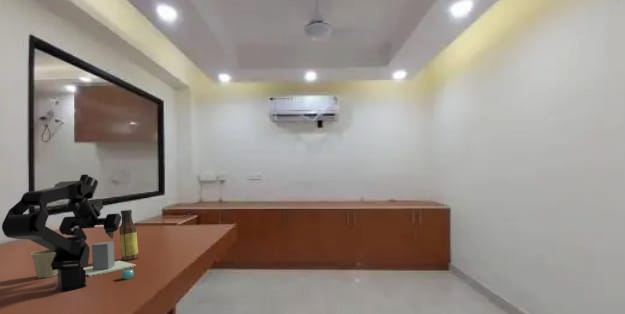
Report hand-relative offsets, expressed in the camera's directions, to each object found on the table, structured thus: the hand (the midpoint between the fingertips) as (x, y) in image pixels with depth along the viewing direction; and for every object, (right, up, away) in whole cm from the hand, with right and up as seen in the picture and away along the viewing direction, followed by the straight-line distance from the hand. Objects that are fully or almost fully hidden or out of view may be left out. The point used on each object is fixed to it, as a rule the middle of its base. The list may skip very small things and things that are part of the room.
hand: (99, 238), depth 146 cm
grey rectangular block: (+1, -11, +2) cm, 12 cm away
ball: (+16, -11, -12) cm, 22 cm away
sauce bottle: (+2, -13, +19) cm, 23 cm away
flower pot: (-17, -13, -2) cm, 21 cm away
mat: (0, -12, +4) cm, 13 cm away
